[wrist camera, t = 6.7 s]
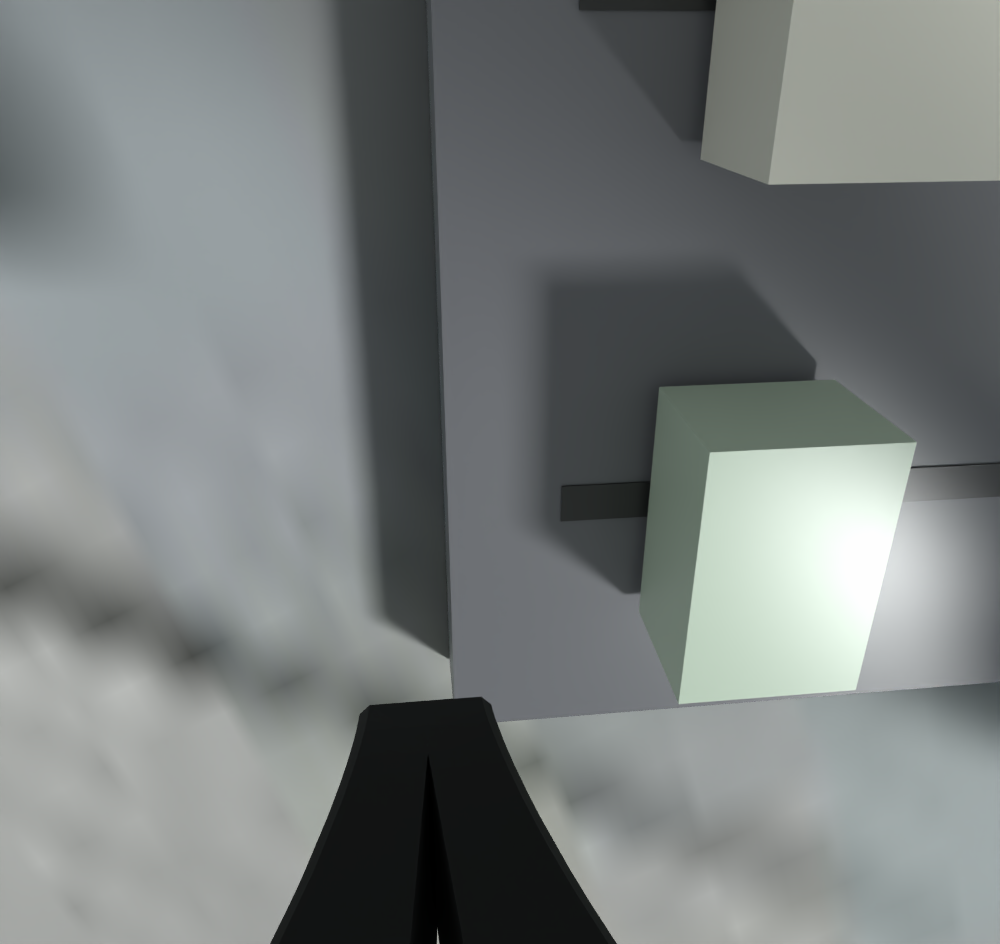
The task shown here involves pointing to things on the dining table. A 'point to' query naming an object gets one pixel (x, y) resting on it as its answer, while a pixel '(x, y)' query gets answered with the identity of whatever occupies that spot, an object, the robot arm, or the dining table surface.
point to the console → (676, 347)
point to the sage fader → (768, 536)
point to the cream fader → (855, 91)
